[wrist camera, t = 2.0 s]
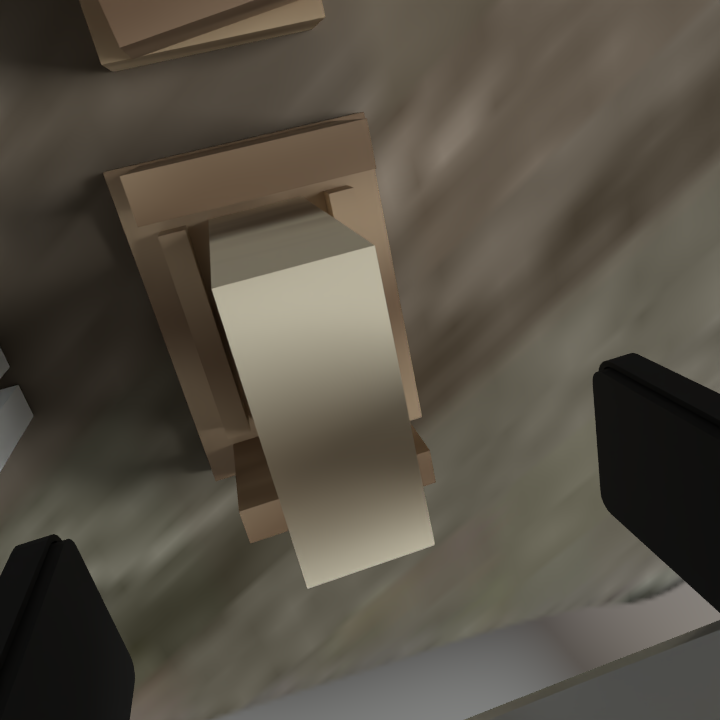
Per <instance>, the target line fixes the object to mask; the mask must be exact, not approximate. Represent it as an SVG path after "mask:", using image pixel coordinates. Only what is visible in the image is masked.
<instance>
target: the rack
mask: <svg viewBox="0 0 720 720" xmlns="http://www.w3.org/2000/svg"><path fill="white" fill-rule="evenodd" d="M375 169H376V164H375V159H374V154H373V149H372V143H371V138H370V133H369V127H368V122H367V118H365V116H364V112H360V113H355V114H350V115H346V116H342V117H337V118H333V119H329V120H324V121H320V122H316V123H312V124H307V125H303V126H299V127H294V128H290V129H286V130H281V131H277V132H273V133H269V134H264V135H260V136H256V137H251V138H247V139H243V140H238V141H234V142H230V143H225V144H221V145H217V146H213V147H208V148H204V149H200V150H195V151H191V152H187V153H182V154H178V155H174V156H170V157H165V158H161V159H157V160H152V161H148V162H144V163H139V164H135V165H131V166H127V167H122V168H118V169H114V170H109V171H106V172H103V174H104V177H105V180H106V182H107V185H108V188H109V191H110V193H111V196H112V199H113V202H114V204H115V207H116V210H117V213H118V215H119V218H120V221H121V223H122V226H123V229H124V232H125V234H126V237H127V240H128V243H129V245H130V248H131V251H132V253H133V256H134V259H135V262H136V264H137V267H138V270H139V273H140V275H141V278H142V281H143V283H144V286H145V289H146V292H147V294H148V297H149V300H150V303H151V305H152V308H153V311H154V313H155V316H156V319H157V322H158V324H159V327H160V330H161V333H162V335H163V338H164V341H165V344H166V346H167V349H168V352H169V354H170V357H171V360H172V363H173V365H174V368H175V371H176V374H177V376H178V379H179V382H180V384H181V387H182V390H183V393H184V395H185V398H186V401H187V404H188V406H189V409H190V412H191V414H192V417H193V420H194V423H195V425H196V428H197V431H198V434H199V436H200V439H201V442H202V445H203V447H204V450H205V453H206V455H207V458H208V461H209V464H210V466H211V469H212V472H213V475H214V477H215V480H216V481H218V480H221V479H225V478H228V477H231V476H234V475H236V483H237V494H238V505H239V513H240V515H241V518H242V521H243V524H244V527H245V530H246V532H247V535H248V538H249V541H250V543H253V542H256V541H259V540H262V539H265V538H268V537H271V536H274V535H277V534H280V533H283V532H286V531H289V529H288V526H287V523H286V520H285V517H284V514H283V510H282V507H281V504H280V501H279V498H278V495H277V492H276V489H275V485H274V482H273V479H272V476H271V473H270V470H269V467H268V464H267V460H266V457H265V454H264V451H263V448H262V445H261V442H260V439H259V436H258V432H257V429H256V426H255V423H254V420H253V417H252V414H251V411H250V407H249V404H248V401H247V398H246V395H245V392H244V389H243V386H242V382H241V379H240V376H239V373H238V370H237V367H236V364H235V361H234V357H233V354H232V351H231V348H230V345H229V342H228V339H227V336H226V333H225V329H224V326H223V323H222V320H221V317H220V314H219V311H218V308H217V304H216V301H215V298H214V295H213V292H212V289H211V266H210V244H209V221H208V219H212V218H216V217H220V216H224V215H228V214H232V213H236V212H240V211H245V210H249V209H253V208H257V207H261V206H265V205H269V204H273V203H277V202H281V201H285V200H289V199H293V198H297V197H301V196H302V197H304V198H305V199H307V200H308V201H310V202H311V203H312V204H314V205H315V206H317V207H318V208H320V209H321V210H323V211H324V212H326V213H327V214H329V215H330V216H332V217H333V218H335V219H336V220H338V221H339V222H341V223H342V224H344V225H345V226H347V227H348V228H350V229H351V230H353V231H354V232H356V233H357V234H359V235H360V236H362V237H363V238H365V239H366V240H367V241H369V242H370V243H372V244H373V245H375V249H376V254H377V259H378V264H379V269H380V274H381V279H382V284H383V289H384V294H385V299H386V304H387V309H388V314H389V319H390V324H391V329H392V334H393V339H394V344H395V349H396V354H397V359H398V364H399V369H400V374H401V379H402V384H403V389H404V394H405V399H406V404H407V409H408V414H409V419H410V421H411V420H414V419H417V418H420V417H422V414H421V409H420V404H419V399H418V393H417V388H416V383H415V378H414V372H413V367H412V362H411V357H410V351H409V346H408V341H407V336H406V330H405V325H404V320H403V315H402V309H401V304H400V299H399V294H398V288H397V283H396V278H395V273H394V268H393V262H392V257H391V252H390V247H389V241H388V236H387V231H386V226H385V220H384V215H383V210H382V205H381V199H380V194H379V189H378V184H377V178H376V173H375ZM410 424H411V423H410ZM411 429H412V434H413V439H414V444H415V449H416V454H417V459H418V464H419V469H420V474H421V479H422V484H423V486H426V485H429V484H432V483H435V482H436V481H435V475H434V470H433V465H432V460H431V454H430V450H429V449H428V447H427V446H426V444H425V443H424V442H423V440H422V439H421V437H420V436H419V435H418V433H417V432H416V430H415V429H414V427H413V426H412V425H411Z"/></svg>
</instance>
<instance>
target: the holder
mask: <svg viewBox="0 0 720 720" xmlns="http://www.w3.org/2000/svg"><path fill="white" fill-rule="evenodd" d="M9 368H10V366H9V364H8V362H7V360H6V358H5V356H4V354H3V352H2V350H1V348H0V379H1V377H2V376H3V375H4V374H5V372H6V371H7V370H8V369H9ZM32 418H33V414H32V411H31V409H30V407H29V405H28V403H27V401H26V399H25V397H24V395H23V393H22V391H21V389H20V387H19V385H16V386H12V387H8V388H5V389H1V390H0V472H1V470H2V468H3V467H4V465H5V463H6V461H7V460H8V458H9V456H10V455H11V453H12V451H13V450H14V448H15V446H16V445H17V443H18V441H19V440H20V438H21V436H22V435H23V433H24V431H25V430H26V428H27V426H28V425H29V423H30V421H31V420H32Z"/></svg>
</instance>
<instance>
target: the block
mask: <svg viewBox="0 0 720 720" xmlns="http://www.w3.org/2000/svg"><path fill="white" fill-rule="evenodd" d="M208 221H209V244H210V266H211V289H212V292H213V295H214V298H215V301H216V304H217V308H218V311H219V314H220V317H221V320H222V323H223V326H224V329H225V333H226V336H227V339H228V342H229V345H230V348H231V351H232V354H233V357H234V361H235V364H236V367H237V370H238V373H239V376H240V379H241V382H242V386H243V389H244V392H245V395H246V398H247V401H248V404H249V407H250V411H251V414H252V417H253V420H254V423H255V426H256V429H257V432H258V436H259V439H260V442H261V445H262V448H263V451H264V454H265V457H266V460H267V464H268V467H269V470H270V473H271V476H272V479H273V482H274V485H275V489H276V492H277V495H278V498H279V501H280V504H281V507H282V510H283V514H284V517H285V520H286V523H287V526H288V529H289V532H290V535H291V539H292V542H293V545H294V548H295V551H296V554H297V557H298V560H299V563H300V567H301V570H302V573H303V576H304V579H305V582H306V585H307V588H311V587H314V586H317V585H320V584H323V583H326V582H329V581H332V580H334V579H337V578H340V577H343V576H346V575H349V574H352V573H355V572H358V571H361V570H363V569H366V568H369V567H372V566H375V565H378V564H381V563H384V562H387V561H390V560H392V559H395V558H398V557H401V556H404V555H407V554H410V553H413V552H416V551H419V550H422V549H424V548H427V547H430V546H433V545H435V543H434V538H433V533H432V528H431V523H430V518H429V513H428V508H427V503H426V498H425V493H424V488H423V484H422V479H421V474H420V469H419V464H418V459H417V454H416V449H415V444H414V439H413V434H412V429H411V424H410V419H409V414H408V409H407V404H406V399H405V394H404V389H403V384H402V379H401V374H400V369H399V364H398V359H397V354H396V349H395V344H394V339H393V334H392V329H391V324H390V319H389V314H388V309H387V304H386V299H385V294H384V289H383V284H382V279H381V274H380V269H379V264H378V259H377V254H376V249H375V245H373V244H372V243H370V242H369V241H367V240H366V239H365V238H363V237H362V236H360V235H359V234H357V233H356V232H354V231H353V230H351V229H350V228H348V227H347V226H345V225H344V224H342V223H341V222H339V221H338V220H336V219H335V218H333V217H332V216H330V215H329V214H327V213H326V212H324V211H323V210H321V209H320V208H318V207H317V206H315V205H314V204H312V203H311V202H310V201H308V200H307V199H305V198H304V197H302V196H301V197H297V198H293V199H289V200H285V201H281V202H277V203H273V204H269V205H265V206H261V207H257V208H253V209H249V210H245V211H240V212H236V213H232V214H228V215H224V216H220V217H216V218H212V219H208Z"/></svg>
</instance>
